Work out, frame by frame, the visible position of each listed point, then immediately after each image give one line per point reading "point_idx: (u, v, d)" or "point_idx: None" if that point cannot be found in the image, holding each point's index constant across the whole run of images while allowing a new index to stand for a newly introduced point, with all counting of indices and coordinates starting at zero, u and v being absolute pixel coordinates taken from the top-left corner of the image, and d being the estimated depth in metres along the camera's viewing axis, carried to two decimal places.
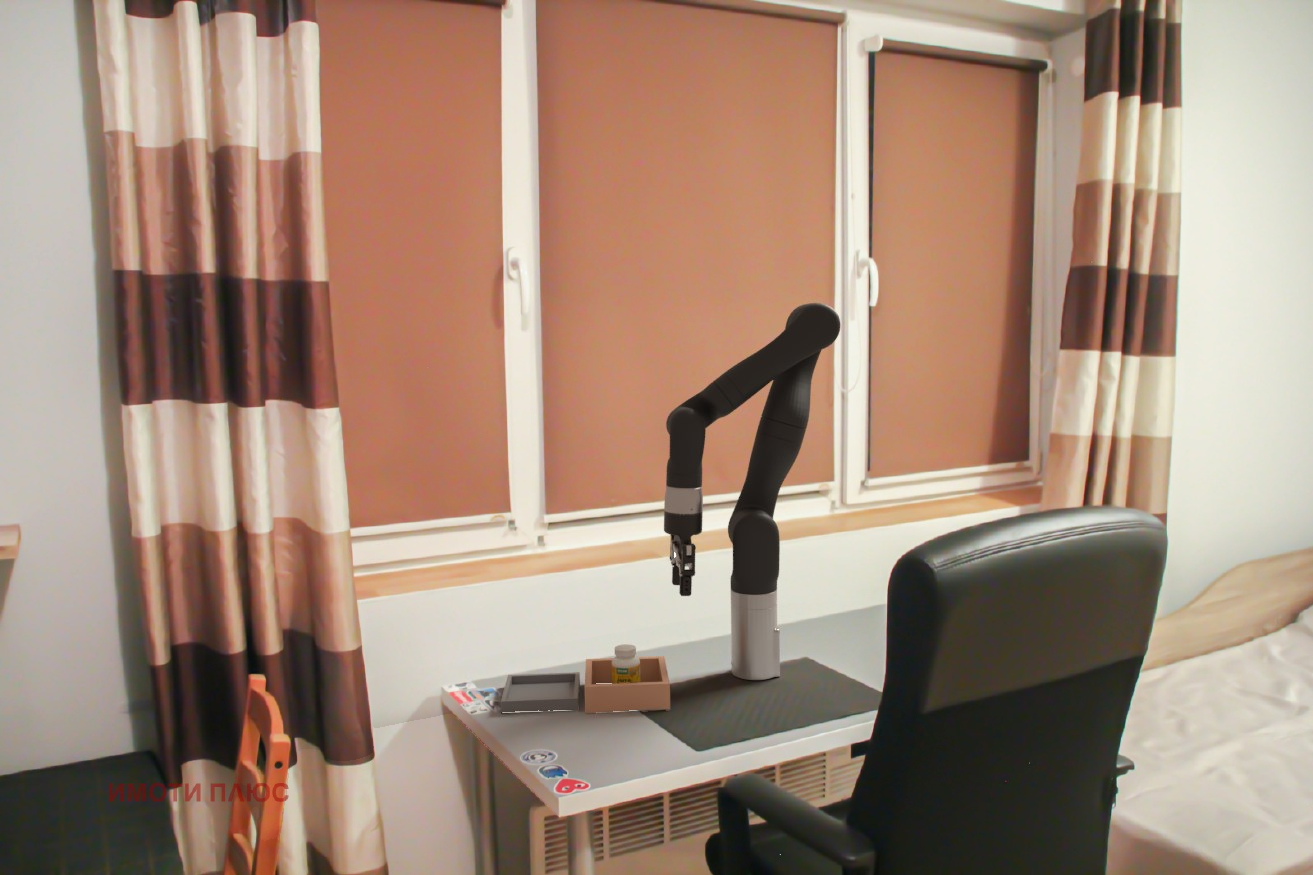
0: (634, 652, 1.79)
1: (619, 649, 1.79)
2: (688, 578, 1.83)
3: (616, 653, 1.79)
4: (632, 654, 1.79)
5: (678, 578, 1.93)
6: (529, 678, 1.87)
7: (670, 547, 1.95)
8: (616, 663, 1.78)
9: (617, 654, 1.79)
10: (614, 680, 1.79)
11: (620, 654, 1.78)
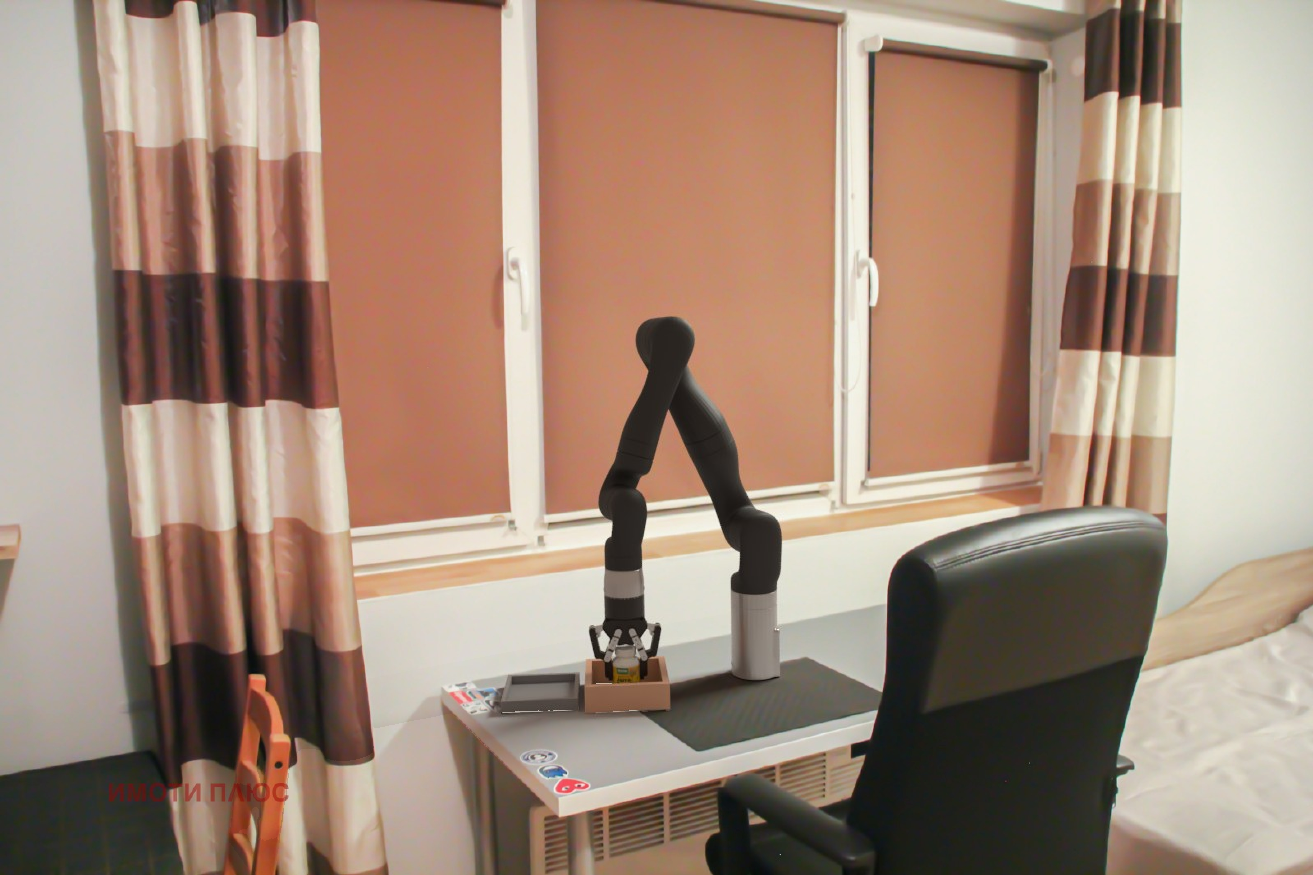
0: (634, 652, 1.79)
1: (619, 649, 1.79)
2: None
3: (616, 653, 1.79)
4: (633, 654, 1.79)
5: None
6: (529, 678, 1.87)
7: (593, 646, 1.78)
8: (616, 663, 1.78)
9: (617, 654, 1.79)
10: (614, 680, 1.79)
11: (620, 653, 1.78)
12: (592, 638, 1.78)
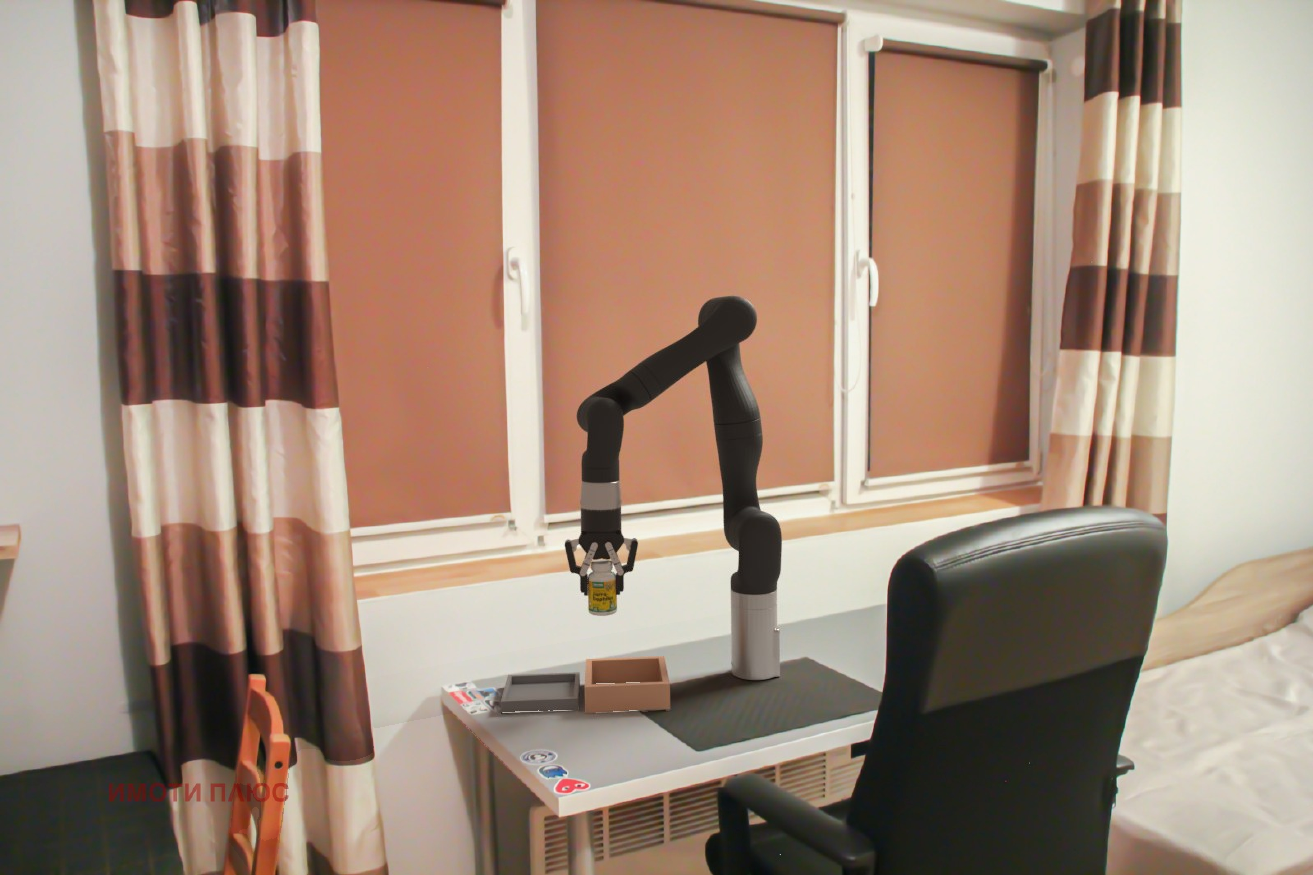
0: (610, 566, 1.77)
1: (596, 563, 1.77)
2: None
3: (592, 568, 1.77)
4: (609, 568, 1.77)
5: None
6: (529, 678, 1.87)
7: (568, 559, 1.76)
8: (592, 577, 1.77)
9: (593, 568, 1.77)
10: (590, 594, 1.77)
11: (596, 567, 1.76)
12: (568, 551, 1.76)
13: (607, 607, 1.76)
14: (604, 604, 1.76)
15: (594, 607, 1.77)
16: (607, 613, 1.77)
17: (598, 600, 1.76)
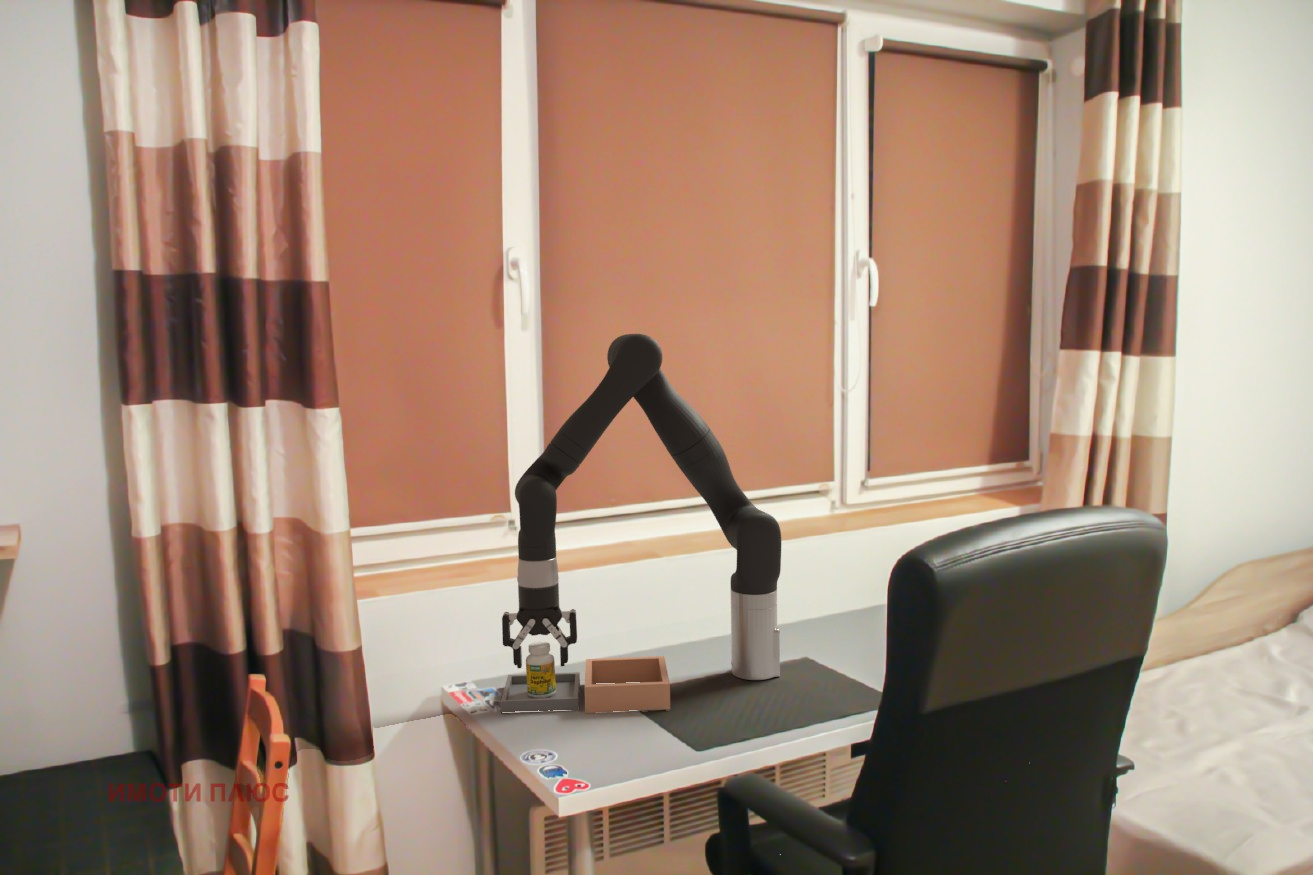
0: (547, 649, 1.79)
1: (533, 646, 1.79)
2: None
3: (529, 651, 1.79)
4: (546, 651, 1.79)
5: (521, 659, 1.80)
6: None
7: (503, 632, 1.78)
8: (529, 660, 1.78)
9: (530, 651, 1.79)
10: (528, 677, 1.79)
11: (533, 651, 1.78)
12: (504, 624, 1.78)
13: (545, 690, 1.78)
14: (541, 687, 1.78)
15: (532, 689, 1.78)
16: (545, 696, 1.78)
17: (536, 683, 1.78)
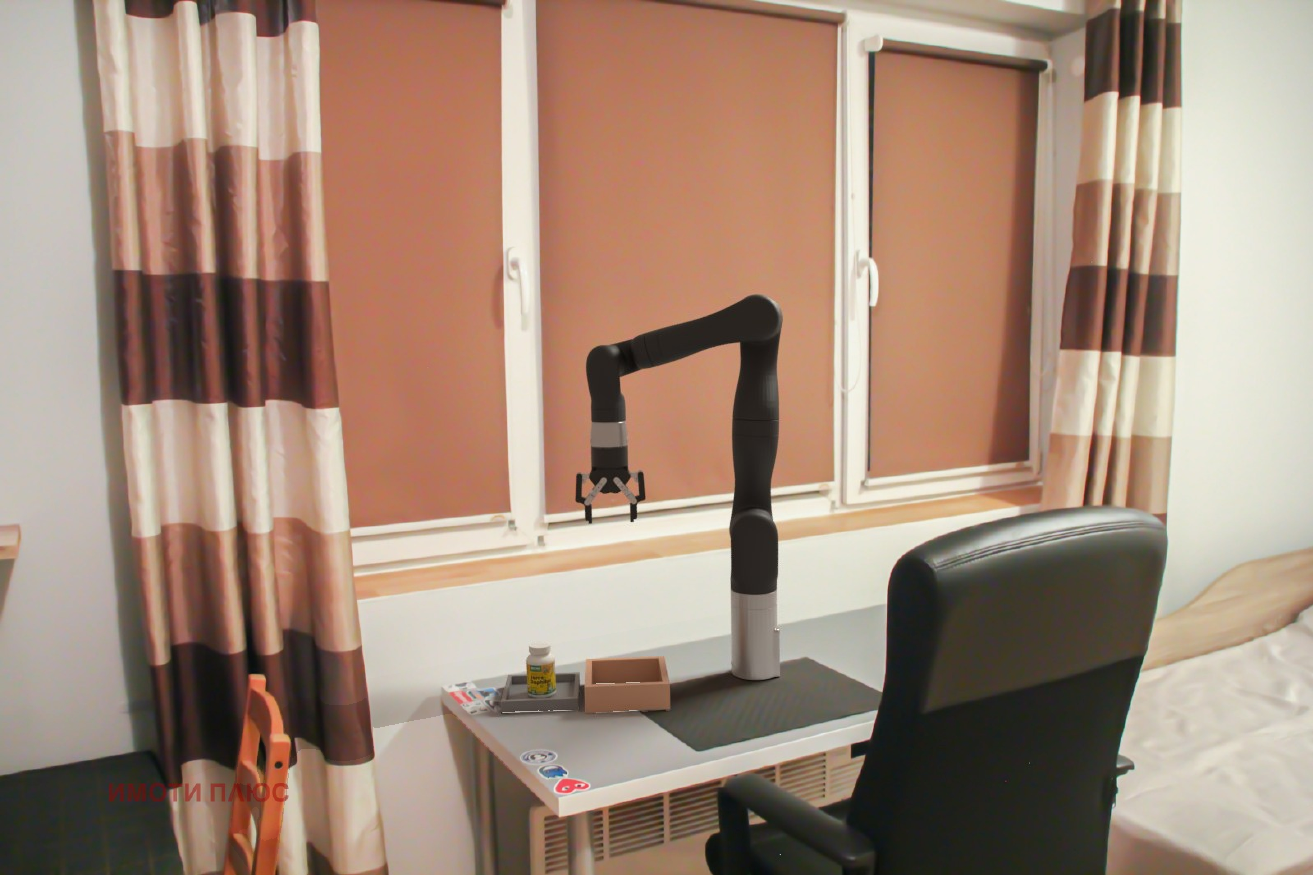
0: (548, 649, 1.79)
1: (533, 646, 1.79)
2: None
3: (530, 651, 1.79)
4: (546, 652, 1.79)
5: None
6: None
7: (576, 489, 1.93)
8: (529, 660, 1.78)
9: (531, 651, 1.79)
10: (528, 677, 1.79)
11: (534, 651, 1.78)
12: (577, 482, 1.93)
13: (545, 690, 1.78)
14: (541, 687, 1.78)
15: (532, 690, 1.78)
16: (545, 696, 1.78)
17: (536, 683, 1.78)
